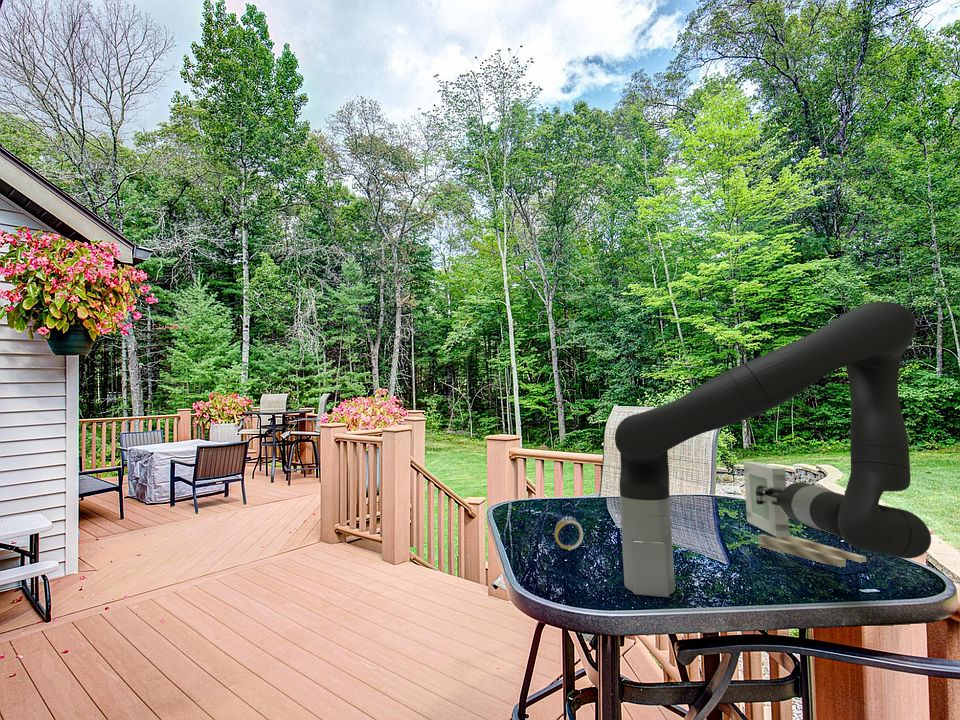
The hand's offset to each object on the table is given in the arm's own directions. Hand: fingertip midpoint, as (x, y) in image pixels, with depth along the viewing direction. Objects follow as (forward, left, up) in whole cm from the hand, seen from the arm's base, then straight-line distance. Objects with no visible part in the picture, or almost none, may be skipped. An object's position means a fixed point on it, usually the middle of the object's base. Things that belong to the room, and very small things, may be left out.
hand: (766, 490), depth 102 cm
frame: (+1, 0, -9) cm, 9 cm away
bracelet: (+1, +44, -16) cm, 47 cm away
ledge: (+6, -9, -16) cm, 19 cm away
